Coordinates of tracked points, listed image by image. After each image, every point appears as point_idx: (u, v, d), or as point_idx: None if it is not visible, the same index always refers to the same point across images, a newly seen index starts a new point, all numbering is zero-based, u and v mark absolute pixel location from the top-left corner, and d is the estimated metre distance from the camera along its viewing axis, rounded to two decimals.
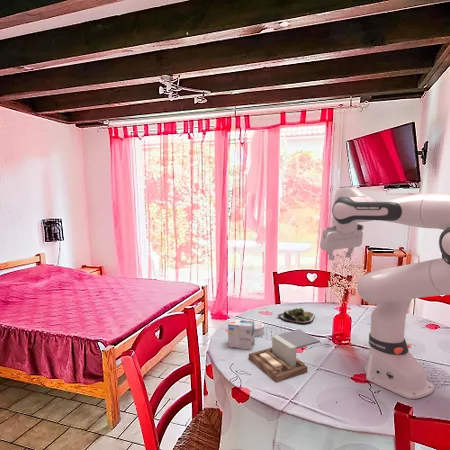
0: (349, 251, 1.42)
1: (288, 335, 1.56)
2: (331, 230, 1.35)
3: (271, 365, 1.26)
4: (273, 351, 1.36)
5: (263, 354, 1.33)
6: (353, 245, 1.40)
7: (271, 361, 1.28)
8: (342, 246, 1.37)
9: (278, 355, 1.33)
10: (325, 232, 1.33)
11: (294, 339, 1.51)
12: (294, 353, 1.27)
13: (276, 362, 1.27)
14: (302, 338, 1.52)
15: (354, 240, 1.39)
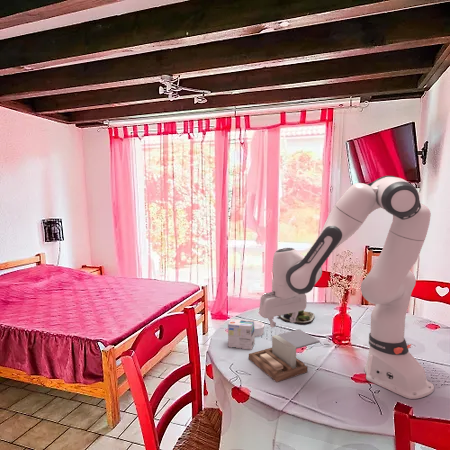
0: (293, 315, 1.33)
1: (288, 335, 1.56)
2: (270, 296, 1.26)
3: (272, 366, 1.26)
4: (273, 351, 1.36)
5: (264, 354, 1.33)
6: (296, 309, 1.31)
7: (272, 362, 1.27)
8: (284, 312, 1.28)
9: (278, 355, 1.33)
10: (263, 299, 1.25)
11: (294, 339, 1.51)
12: (294, 353, 1.27)
13: (277, 363, 1.27)
14: (302, 338, 1.52)
15: (296, 304, 1.31)
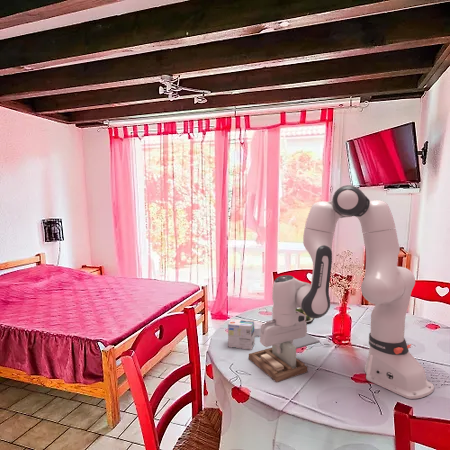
0: None
1: None
2: (270, 324, 1.27)
3: (272, 366, 1.26)
4: (273, 351, 1.36)
5: (264, 355, 1.33)
6: (297, 337, 1.32)
7: (272, 362, 1.27)
8: (284, 340, 1.29)
9: (278, 355, 1.33)
10: (263, 327, 1.26)
11: None
12: (294, 353, 1.27)
13: (277, 363, 1.26)
14: (302, 338, 1.52)
15: (297, 331, 1.32)
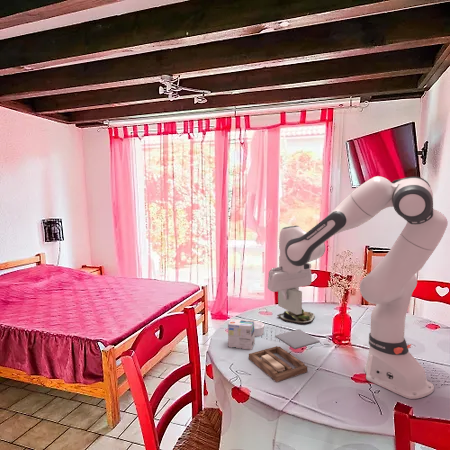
0: None
1: (288, 335, 1.56)
2: (277, 271, 1.34)
3: (273, 367, 1.25)
4: (279, 299, 1.42)
5: (265, 356, 1.32)
6: (302, 284, 1.39)
7: (273, 363, 1.27)
8: (290, 286, 1.36)
9: (284, 302, 1.40)
10: (271, 273, 1.32)
11: (294, 339, 1.51)
12: (300, 297, 1.33)
13: (278, 364, 1.26)
14: (302, 338, 1.52)
15: (302, 279, 1.38)
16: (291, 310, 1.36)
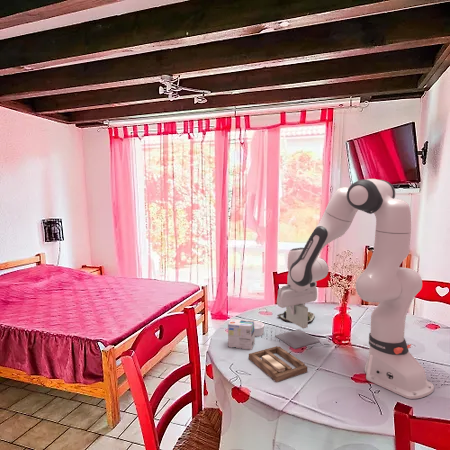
0: None
1: (288, 335, 1.56)
2: (286, 288, 1.47)
3: (274, 367, 1.25)
4: (287, 313, 1.56)
5: (265, 356, 1.32)
6: (308, 300, 1.52)
7: (274, 363, 1.26)
8: (298, 302, 1.49)
9: (292, 316, 1.53)
10: (280, 291, 1.46)
11: (294, 339, 1.51)
12: (306, 313, 1.47)
13: (279, 364, 1.26)
14: (302, 338, 1.52)
15: (308, 295, 1.52)
16: (298, 324, 1.50)
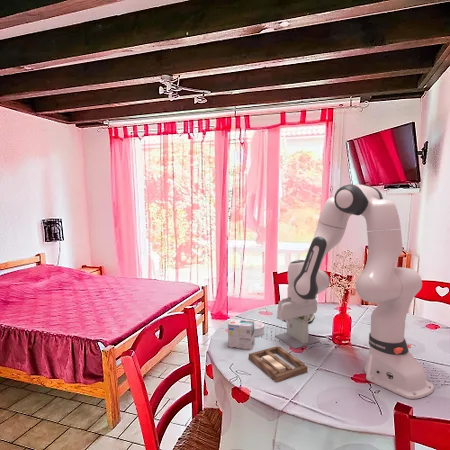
0: (305, 318, 1.54)
1: (288, 335, 1.56)
2: (286, 301, 1.48)
3: (274, 368, 1.24)
4: (287, 328, 1.57)
5: (266, 356, 1.31)
6: (308, 313, 1.52)
7: (274, 363, 1.26)
8: (298, 315, 1.50)
9: (292, 331, 1.54)
10: (280, 304, 1.46)
11: (294, 339, 1.51)
12: (306, 328, 1.47)
13: (279, 365, 1.25)
14: None
15: (308, 308, 1.52)
16: (298, 339, 1.50)
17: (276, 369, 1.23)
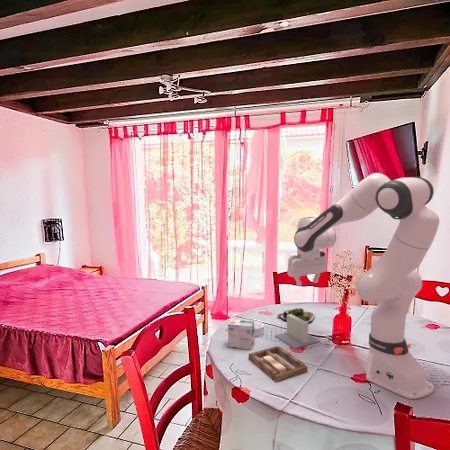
0: (316, 277, 1.53)
1: (288, 335, 1.56)
2: (296, 258, 1.47)
3: (275, 368, 1.24)
4: (287, 328, 1.57)
5: (266, 357, 1.31)
6: (318, 271, 1.52)
7: (275, 364, 1.26)
8: (308, 272, 1.49)
9: (292, 331, 1.54)
10: (290, 260, 1.45)
11: (294, 339, 1.51)
12: (306, 328, 1.47)
13: (280, 365, 1.25)
14: None
15: (318, 266, 1.51)
16: (298, 339, 1.50)
17: (277, 369, 1.23)
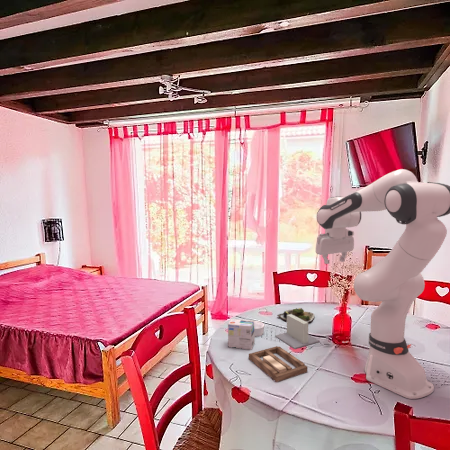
0: (343, 256, 1.56)
1: (288, 335, 1.56)
2: (324, 236, 1.49)
3: (275, 368, 1.24)
4: (287, 328, 1.57)
5: (266, 357, 1.31)
6: (346, 250, 1.54)
7: (275, 364, 1.26)
8: (336, 250, 1.51)
9: (292, 331, 1.54)
10: (319, 238, 1.48)
11: (294, 339, 1.51)
12: (306, 328, 1.47)
13: (280, 365, 1.25)
14: None
15: (346, 245, 1.54)
16: (298, 339, 1.50)
17: (276, 369, 1.23)
